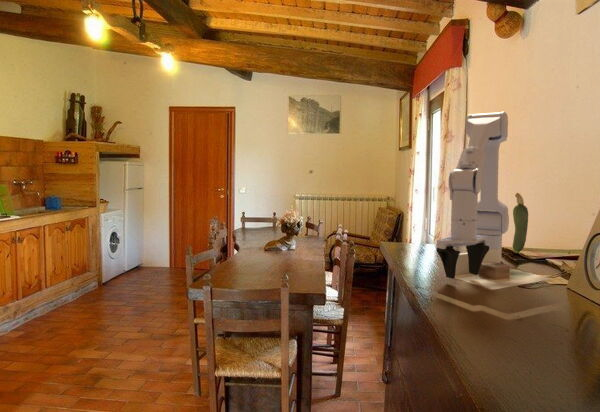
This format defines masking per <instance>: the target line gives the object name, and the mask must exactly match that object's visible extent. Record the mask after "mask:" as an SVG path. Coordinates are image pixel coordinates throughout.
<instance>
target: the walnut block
mask: <svg viewBox="0 0 600 412" xmlns="http://www.w3.org/2000/svg"><path fill="white" fill-rule="evenodd" d="M510 268H511V266H510V265H508V264H503V263H502V262H500V263H497V262H487V263H482V264H481V266H480V270H479V275H480V276H483V277H487V278H490V279H494V280H498V279H504V278H509V276H510Z"/></svg>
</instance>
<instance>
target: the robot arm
mask: <svg viewBox="0 0 600 412" xmlns="http://www.w3.org/2000/svg"><path fill="white" fill-rule="evenodd" d="M464 125H465V133H466V135H467V137H468V138H469V139H468V146H467V147H465V148H464V149H463V150H462V151H461V154H460V156H459V159H458V162H457V164H456V168H455V169H453V171H452V170H451V171H449V172H450V173H449V177H448V190H449V200H450V201H451V208H450V209H451V212H450V214H451V215H450V236H447V237H444V238H440V239H436V252H437V254H438V256H439V257H440V260H441V262H442V265H443V269H444V274H446V275H445V277H446V278H449V279H453V280H454V279H455V272H456V263H457V259H458V256H459V254H460V253H461V251H460V250H456V249H455V248H458V247H465V248H466V249H465V253H468V259H469V273H471V274H474V275H478V273H479V270H480V266H481V264H482V261H483V259H484V257H485V255H486V254H487V252H488V251H489V250H492V249H500V250H501V253H502V252H503V250H502V249H503V248H502V247H503V245H502V244H503V234H506V233H507V232H508V230H509V226H510V225H509V223H510V215H509V208H508V205H506V204H505V203H503V202H502V201H500V200H499V198H498V197H499V157H500V155H499V154H500V153H499V152H500V146H501V144H502V143H503V142H506V141H507V140H508V133H509V129H508V128H509V127H508V126H509V117H508V114H507V112H506V111H501V112H500V111H499V112H486V113H485V112H484V113H483V112H482V113H469V114H468V115H467V116H466V118H465V124H464ZM479 194H480V198H479ZM478 199H480V200H478ZM500 263H502V255H501V256H500Z"/></svg>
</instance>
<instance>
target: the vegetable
mask: <svg viewBox="0 0 600 412" xmlns="http://www.w3.org/2000/svg"><path fill="white" fill-rule="evenodd" d="M514 196H515V198H516V203H517V205H515V206H514V207H513V209H512V217H513V223H514V235H513V239H512V240H513V242H512V252H514V254H517V253H518V254H520V253H521V251H523V250H524V247H525V245H526V241H527V234H528V227H529V226H528V223H529V210H528V207H527V206H526V205H524V203H525V202H524V198H523V196H522V195H521V193H519V192H517V193H515V195H514Z"/></svg>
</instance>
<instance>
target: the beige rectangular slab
mask: <svg viewBox="0 0 600 412" xmlns="http://www.w3.org/2000/svg"><path fill="white" fill-rule="evenodd" d="M500 256H501V257H502V252H501V250H500V249H492V250H489V251H488V252H487V254H486V255H485V257H484V259H483V261H482V263H487V262H497V263H501V262H500ZM462 273H469V259H468V253H466V252H460V254H459V256H458V259H457V263H456V272H455V274H462Z"/></svg>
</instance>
